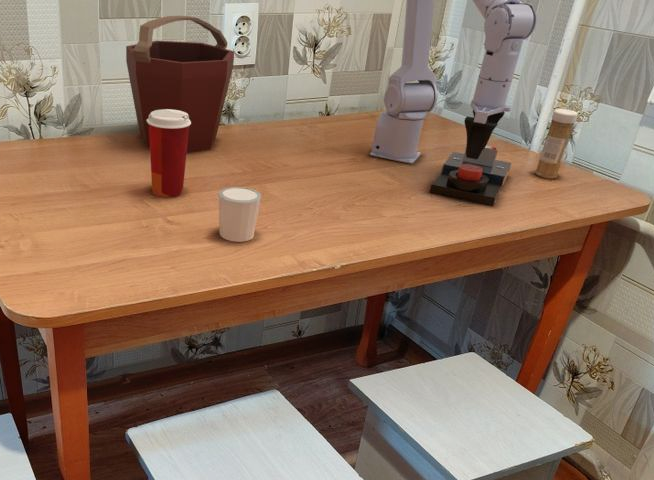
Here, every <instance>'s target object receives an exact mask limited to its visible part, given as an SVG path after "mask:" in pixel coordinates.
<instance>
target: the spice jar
mask: <svg viewBox="0 0 654 480" xmlns="http://www.w3.org/2000/svg"><path fill="white" fill-rule="evenodd" d="M578 116H579V114H578V112H577V111H575V110H571V109H567V108H566V109H565V108H557V109H554V111H553V113H552V116H551V120H550V121H551V122H550V125H549V128H548V131H547V134H546V137H545V140H544V143H543V146H542V149H541V153H540V156H539V160H538V163H537V166H536V170H535V171H534V174H535V175H536V176H538V177H540V178H544V179H550V180H551V179H556V178H558V176H559V174H558V173H559V170H560V167H561V165H562V162H563V160H564V157H565V153H566V151H567V147H568V143H569V141H570V138H571V134H572V132H573V128H574V125H575V123H576V122H577V119H578Z"/></svg>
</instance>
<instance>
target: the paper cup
mask: <svg viewBox="0 0 654 480" xmlns="http://www.w3.org/2000/svg"><path fill="white" fill-rule="evenodd" d="M146 121H147V123H148V124H149V137H150V148H149V157H150V158H149V159H150V172H151V173H150V174H151V175H150V176H151V189H152V194H153V195H156V196H157V197H163V198H175V197H179V196H181V195H182V194H183V191H184V185H185V183H184V181H185V173H186V163H187V154H188V152H187V145H188V133H189V125H191V121H190V120H189V115H188V114H187V113H186V112H183V111H179V110H172V109H161V110H155V111H152V112H151V113H150V115H149V118H148V119H147V120H146Z"/></svg>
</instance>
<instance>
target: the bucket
mask: <svg viewBox="0 0 654 480" xmlns="http://www.w3.org/2000/svg"><path fill="white" fill-rule="evenodd" d="M177 21H178V22H180V21H191V22H193V23H195V24H196V25H199V26H201V27H202V28H203V29H205V30H206V31H208V32H210V34H211V35H212V37H213V38H214V40H215V42H216V44H215V45H212V44H209V43H205V42H196V41H195V42H194V41H175V40H153V37H154V36H153V35H154V30H156V29H158V28H160V27H162V26H164V25H167V24H171V23H174V22H177ZM228 44H229V43H228V41H227V39H226V37H225V36H224V34H223V33H222V31H221V30H220V29H218V28H217V27H214V26H213V25H212V24H211V23H209V22H207V21H205V20H202V19H200V18H198V17H195V16H190V15H168V16H163V17H159V18H154V19H152V20H149V21H147V22H144V23H143V24H141V25H140V26H139V33H138V41H137V43H136V44H135V43H134V44H130V45H126V46H125V59H126V60H125V61H126V67H127V73H128V78H129V84H130V89H131V92H132V93H131V95H132V101H133V105H134V111H135V115H136V121H137V127H138V131H139V137H140V139H141V141H142V142H143V143H144V145H145V146H146V148H148V149H150V137H149V124H148V123H147V121H146V120H147V119H148V118H149V115H150V113H151V112H152V111H155V110H161V109H172V110H179V111H183V112H186V113H187V114H188V115H189V120H190V121H191V125H189V133H188V145H187V153H192V152H200V151H210V150H211V149H212V147H213V145H214V143H215V141H216V140H217V136H218V135H217V134H218V132H219V131H218V130H219V127H220V123H221V119H222V114H223V110H224V106H225V102H226V98H227V93H228V90H229V86H230V81H231V79H232V73H233V69H234V63H235V62H234V61H235V51H234V50H232V49H227V48H228Z"/></svg>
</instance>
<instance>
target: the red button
mask: <svg viewBox="0 0 654 480" xmlns="http://www.w3.org/2000/svg"><path fill="white" fill-rule="evenodd" d="M482 172H483V169H482V168H481V167H478V166H475V165H470V164H463V165H460V166H459V170H458V174H457V177H459V178H461V179H464V180H469V181H480V179H481V176H482Z"/></svg>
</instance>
